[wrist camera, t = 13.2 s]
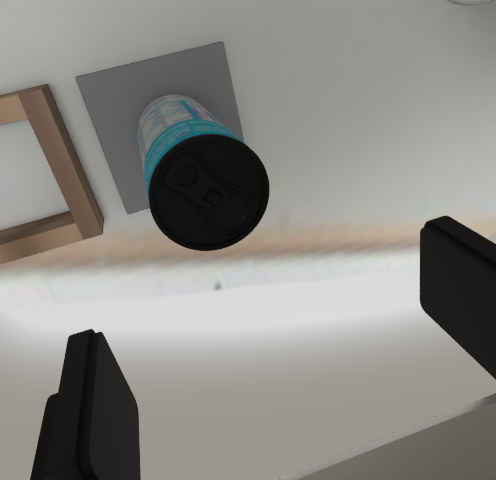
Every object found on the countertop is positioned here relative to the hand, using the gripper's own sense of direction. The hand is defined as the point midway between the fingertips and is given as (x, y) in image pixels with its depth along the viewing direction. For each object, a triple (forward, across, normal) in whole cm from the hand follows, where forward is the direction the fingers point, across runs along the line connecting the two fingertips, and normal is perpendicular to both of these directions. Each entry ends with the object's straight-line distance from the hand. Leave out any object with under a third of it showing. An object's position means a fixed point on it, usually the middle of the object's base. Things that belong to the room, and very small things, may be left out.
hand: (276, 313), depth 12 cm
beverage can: (+25, 0, 0) cm, 25 cm away
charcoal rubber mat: (+25, +1, 0) cm, 25 cm away
